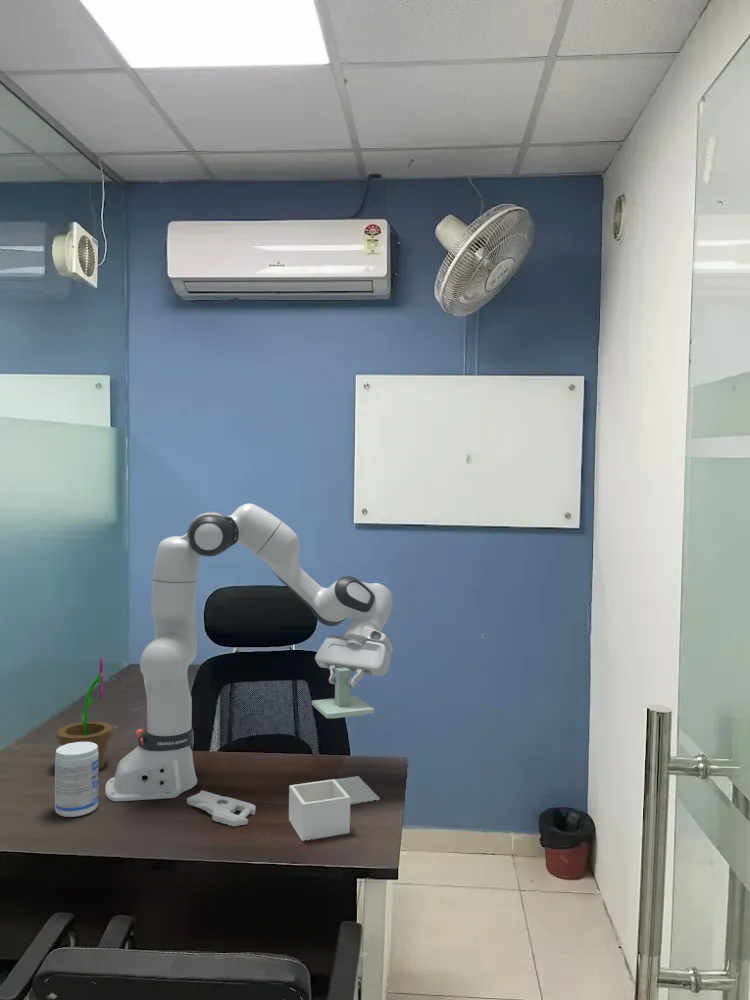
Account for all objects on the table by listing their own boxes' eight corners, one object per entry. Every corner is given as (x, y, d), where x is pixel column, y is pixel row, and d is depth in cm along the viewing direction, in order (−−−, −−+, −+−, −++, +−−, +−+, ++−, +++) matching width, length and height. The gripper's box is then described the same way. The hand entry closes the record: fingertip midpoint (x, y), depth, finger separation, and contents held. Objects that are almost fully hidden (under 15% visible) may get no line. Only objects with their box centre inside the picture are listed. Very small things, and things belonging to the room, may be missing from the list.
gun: (177, 798, 172) (203, 784, 181) (176, 813, 172) (202, 798, 181) (241, 818, 165) (266, 802, 174) (240, 833, 165) (264, 816, 174)
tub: (302, 841, 160) (302, 804, 160) (288, 819, 170) (289, 785, 170) (349, 833, 164) (350, 797, 164) (333, 812, 174) (334, 779, 174)
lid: (326, 721, 178) (327, 677, 177) (311, 707, 189) (311, 665, 189) (374, 716, 182) (374, 672, 182) (356, 702, 194) (357, 661, 194)
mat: (321, 808, 176) (321, 807, 176) (304, 785, 190) (304, 783, 190) (379, 799, 182) (379, 798, 182) (358, 777, 196) (358, 776, 196)
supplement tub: (102, 812, 172) (103, 750, 172) (59, 822, 167) (59, 757, 167) (92, 798, 180) (93, 738, 180) (51, 806, 175) (51, 745, 175)
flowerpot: (114, 772, 196) (115, 660, 196) (55, 780, 191) (56, 665, 191) (111, 754, 210) (112, 649, 209) (56, 761, 204) (57, 653, 204)
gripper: (323, 627, 196) (302, 671, 188) (391, 635, 187) (371, 682, 178) (332, 641, 200) (311, 685, 192) (398, 650, 190) (380, 696, 182)
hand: (341, 684), depth 185 cm, fingers closed on lid, 4 cm apart
